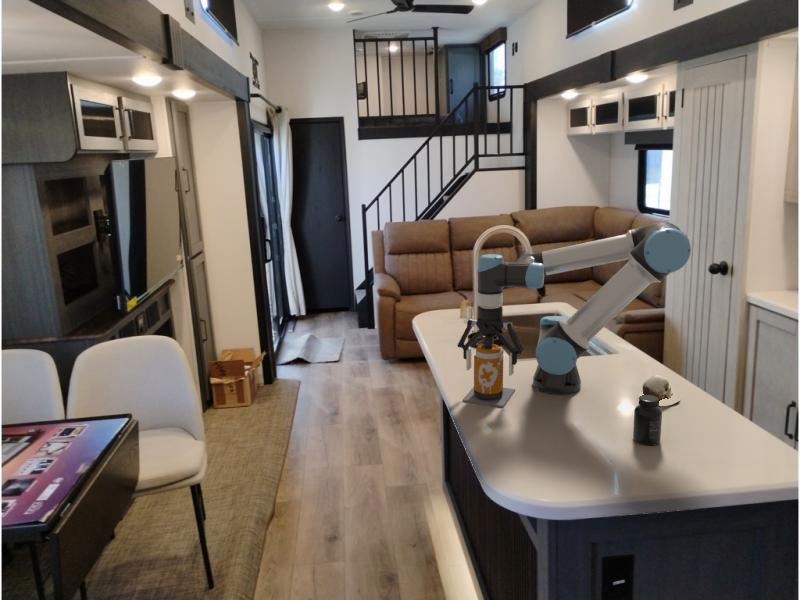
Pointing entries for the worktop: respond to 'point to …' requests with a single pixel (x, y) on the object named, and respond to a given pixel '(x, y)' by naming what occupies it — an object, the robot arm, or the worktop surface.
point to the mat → (493, 402)
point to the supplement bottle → (647, 421)
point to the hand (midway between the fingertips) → (489, 371)
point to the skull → (657, 387)
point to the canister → (488, 370)
